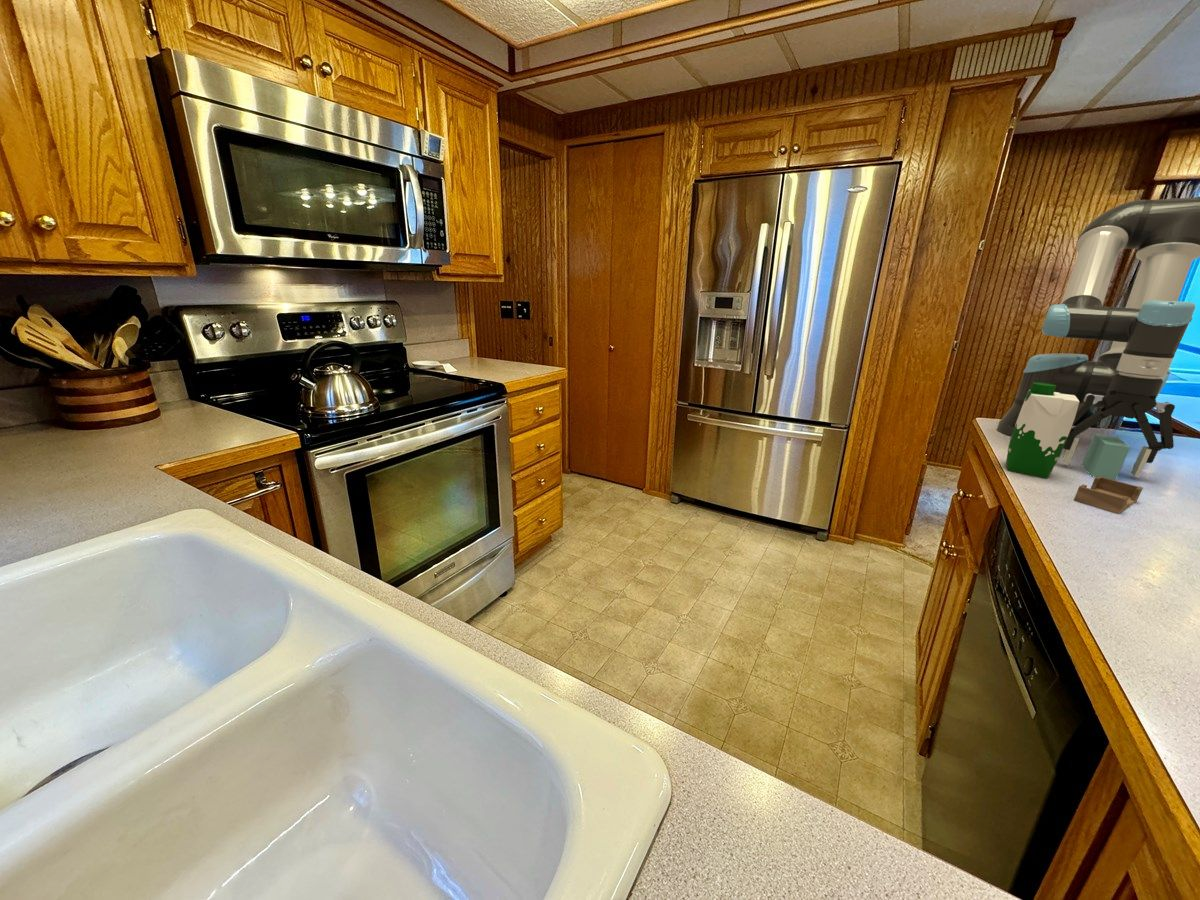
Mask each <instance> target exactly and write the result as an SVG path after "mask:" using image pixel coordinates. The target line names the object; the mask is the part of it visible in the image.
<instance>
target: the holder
mask: <svg viewBox="0 0 1200 900" xmlns="http://www.w3.org/2000/svg"><path fill="white" fill-rule="evenodd" d="M1143 489H1144V487H1141V486H1139V485H1134V484H1130V483H1127V482H1122V481H1120V480H1117V479H1116V480H1112V479H1108V478H1104V477H1100V476H1098V477H1094V480H1093V482H1092V485H1091V487H1090V488H1088V485H1086V484H1081V485H1079V486H1078V489H1077V491H1076V493H1075V495H1074V498H1073V501H1075V502H1078V503H1082V504H1085V505H1089V506H1092V507H1094V508H1098V509H1101V510H1104V511H1105V510H1106V511H1108V512H1111V513H1115V514H1118V515H1119V514H1121V513H1122V512H1124V511H1125V510H1127V509H1128V508H1130V507H1131V506H1132V505H1133V503H1134V504H1135V503H1136V502H1137V501H1138V500H1139V497H1140V495H1141V493H1142V491H1143ZM1130 505H1131V506H1130ZM1126 508H1127V509H1126Z"/></svg>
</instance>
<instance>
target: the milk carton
mask: <svg viewBox="0 0 1200 900" xmlns="http://www.w3.org/2000/svg"><path fill="white" fill-rule="evenodd" d="M1055 388H1056V385H1054V384H1049V383H1041V382H1033V383H1032V386H1031V388H1030V390H1029V391H1028V394H1027V396H1026V398H1025V401H1024V403H1023V406H1022V408H1021V411H1020V413H1019V416H1018V419H1017V422H1016V425H1015V428H1014V431H1013V433H1012V436H1010V439H1009V440H1010V441H1009V443H1008V446H1007V447H1008V448H1007V455H1006V461H1005V462H1006V470H1007V471H1008V472H1013V473H1018V474H1024V475H1029V476H1032V477H1033V476H1035V477H1038V478H1042V477H1043V479H1048V478H1049V477H1050V475H1051V473H1052V471H1053V470H1054V468H1055V466H1056V464H1057V463H1058V461H1059V459H1060V458H1061V455H1062V453H1063V450H1064V449H1063V447H1064V445H1065V442H1066V440H1067V437H1068V435H1069V432H1070V430H1071V429H1072V428H1073V426H1072V424H1073V422H1074V419H1075V416H1076V412H1077V409H1078V406H1079V402H1080V401H1079V400H1078V399H1077V398H1076V396H1075V395H1068V394H1060V393H1058V392H1054V391H1055Z"/></svg>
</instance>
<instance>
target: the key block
mask: <svg viewBox="0 0 1200 900" xmlns="http://www.w3.org/2000/svg"><path fill="white" fill-rule="evenodd" d="M1130 448H1131V446H1129V445H1128V444H1127V443H1126V442H1124V441H1123V440H1122V439H1121V438H1120V437H1118V436H1112V435H1106V434H1101V433H1100V434H1099V433H1094V434H1093V436H1092V439H1091V441H1090V443H1089V446H1088V448H1087V451H1086V453H1085V455H1084V458H1083V461H1082V463H1081V466H1082V465H1083V466H1084V467H1083V466H1082V467H1083V469H1084V470H1085V469H1086V470H1087V471H1088V472H1089V473H1088V472H1087V471H1086V470H1085V471H1086V472H1087V473H1088V474H1089V476H1090V475H1091V476H1094V477H1093V478H1096V477H1098V476H1100V477H1104V478H1108V479H1112V480H1116V481H1117V478H1118V475H1119V473H1120V471H1121V469H1122V468H1123V467H1122V466H1123V464H1124V463H1125V460H1126V458H1127V455H1128V453H1129V451H1130ZM1091 476H1090V477H1091Z"/></svg>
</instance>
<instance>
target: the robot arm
mask: <svg viewBox="0 0 1200 900" xmlns="http://www.w3.org/2000/svg"><path fill="white" fill-rule="evenodd" d="M1075 247H1076V252H1077V253H1078V254H1077V257H1076V259H1075V262H1074V265H1073V267H1072V271H1071V274H1070V276H1069V278H1068V279H1069V280H1068V282H1067V286H1066V288H1065V291H1064V293H1063V296H1062V300H1061V303H1060V304H1052V305H1050V306H1049V308H1048V310H1047V312H1046V316H1045V319H1044V322H1043V324H1042V327H1041V334H1043V335H1044V336H1050V337H1051V336H1052V337H1058V338H1060V339H1061V338H1064V339H1065V338H1067V339H1079V340H1082V339H1083V340H1096V341H1097V340H1098V341H1106V342H1112V344H1111V346H1110V349H1109V350H1108V351H1105V352H1104V353H1102V354H1100V355H1099V356H1098V359H1097V361H1096V360H1095V361H1094V360H1089V356H1088V355H1087V354H1084V353H1083V354H1082V353H1066V352H1065V353H1042V354H1041V353H1040V354H1036V355H1033V356H1032V357H1030V358H1029V359H1028V360H1027V364H1026V366H1025V368H1024V370H1023V371H1022V372H1023V375H1022V377H1021V378H1022V379H1021V380H1020V383H1019V387H1018V389H1017V392H1016V394H1015V397H1014V400H1013V404H1012V406H1011V407H1010V408H1009V409H1008V410H1007V412H1006V413H1005V414H1004V415H1003V416H1002V418H1001V419H1000V420H999V422H998V424H997V428H996V429H997V431H998V432H1000V433H1002V434H1004V435H1007V436H1010V437H1011V436H1012V433H1013V431H1014V428H1015V425H1016V422H1017V419H1018V416H1019V413H1020V411H1021V408H1022V406H1023V403H1024V401H1025V398H1026V396H1027V394H1028V391H1029V390H1030V388H1031V386H1032V383H1033V382H1041V383H1049V384H1054V385H1056V388H1055V391H1054V392H1058V393H1060V394H1068V395H1075V396H1076V398H1077V399H1078V400H1079V401H1080V402H1079V405H1078V409H1077V412H1076V416H1075V419H1074V422H1073V424H1072V427H1071V430H1070V432H1069V435H1068V437H1067V440H1066V442H1065V445H1064V447H1063V450H1066V451H1065V453H1064V457H1063V458H1062V463H1063V464H1064V465H1066V466H1067V465H1068V466H1070V464H1071V462H1072V459H1073V456H1074V453H1075V451H1076V448H1077V446H1078V444H1079V441H1080V438H1079V437H1078V435H1081V434H1082V433H1083V432H1085V431H1086V430H1088V429H1090V428H1091V427H1093V426H1094V425H1096V424H1098V423H1099V422H1100V421H1102V420H1104V419H1106V418H1108V417H1109V416H1113V417H1116V418H1117V417H1118V418H1120V417H1122V418H1126V419H1135V420H1136V422H1137V424H1138V426H1139V428H1140V430H1141V432H1142V435H1143V436H1144V439H1145V441H1146V443H1147V445H1148V446H1147V445H1143V446H1142V447H1141V449H1140V451H1139V453H1138V455H1137V457H1136V460H1135V462H1134V465H1133V467H1132V469H1131V472H1130V474H1132V476H1134V477H1136V478H1140V476H1141V474H1142V472H1143V470H1144V468H1145V466H1146V464H1152V463H1153V462H1154V460H1155V458H1156V456H1157V453H1158V452H1159V451H1162V450H1167V449H1168V450H1172V449H1174V447H1175V444H1174V434H1173V431H1174V430H1173V420H1172V414H1173V412H1174V410H1175V408H1176V406H1175V405H1174V404H1173V403H1171V402H1169V401H1165V402H1159V401H1157V400H1156V399H1157V397H1158V396H1159V395H1160V393H1161V392H1162V390H1163V388H1164V386H1165V385H1166V383H1167V381H1168V379H1169V377H1170V374H1171V369H1169V368H1170V367H1171V364H1172V362H1173V360H1174V358H1175V355H1176V352H1177V350H1178V348H1179V346H1180V343H1181V342H1182V339H1183V337H1184V335H1185V333H1186V331H1187V328H1188V326H1189V325H1190V323H1191V322H1192V321H1193V315H1194V312H1195V310H1196V304H1195V303H1194V302H1191V301H1179V298H1180V296H1181V293H1182V290H1183V287H1184V284H1185V282H1186V279H1187V276H1188V274H1189V271H1190V269H1191V266H1192V263H1193V261H1195V260H1196V259H1199V258H1200V196H1199V195H1198V196H1196V197H1178V198H1164V199H1163V198H1159V199H1156V198H1155V199H1138V200H1132V201H1128V202H1124V203H1122V204H1119V205H1117V206H1114V207H1112V208H1110V209H1108V210H1107V211H1104V212H1103V213H1101V214H1100V215H1098V216H1097V217H1096V218H1094V219H1093V220H1092V221H1091V222H1089V224H1087V225H1086V227H1084V229H1082V231H1081V233H1080V234H1079V237H1078V240H1077V242H1076V245H1075ZM1124 249H1126V250H1127V249H1128V250H1129V249H1131V250H1132V249H1133V250H1134V249H1135V250H1137V251H1136V253H1135V257H1136V259H1137V260H1139V261H1141V264H1140V266H1139V268H1138V271H1137V274H1136V278H1135V280H1134V283H1133V286H1132V288H1131V291H1130V294H1129V295H1128V299H1127V302H1126V305H1125V307H1115V306H1104V305H1103V304H1104V302H1105V300H1106V299H1105V298H1106V295H1107V292H1108V289H1109V286H1110V282H1111V279H1112V277H1113V273H1114V270H1115V267H1116V262H1117V260H1118V257H1119V253H1120V252H1122V251H1123V250H1124ZM1092 407H1094V408H1099V409H1098V410H1097V411H1096V412H1095V413H1093V414H1092V415H1090V416H1089V417H1087V418H1085V419H1084V420H1082V421H1080V422H1079V423H1077V422H1078V421H1079V420H1080V419H1081V418H1082V417H1083V416H1084V414H1086V413H1087V411H1089V410H1090V408H1092ZM1154 408H1156V409H1155V410H1156V412H1157V413H1158V419H1159V428H1160V429H1159V433H1160V441H1158V439H1157V436H1156V434H1155V432H1154V430H1153V428H1152V426H1151V424H1150V422H1149V418H1148V416H1147V415H1146V413H1147V412H1149V411H1151V410H1153V409H1154ZM1076 423H1077V424H1076ZM1075 424H1076V425H1075ZM1074 425H1075V426H1074Z"/></svg>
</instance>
